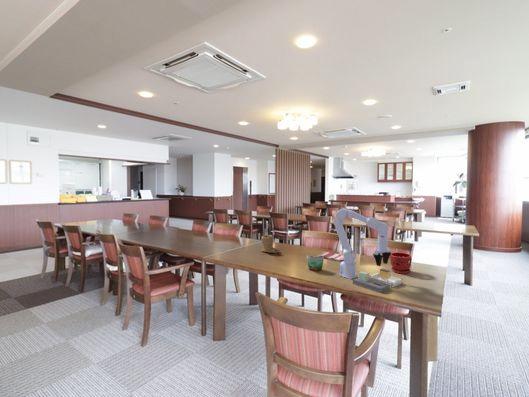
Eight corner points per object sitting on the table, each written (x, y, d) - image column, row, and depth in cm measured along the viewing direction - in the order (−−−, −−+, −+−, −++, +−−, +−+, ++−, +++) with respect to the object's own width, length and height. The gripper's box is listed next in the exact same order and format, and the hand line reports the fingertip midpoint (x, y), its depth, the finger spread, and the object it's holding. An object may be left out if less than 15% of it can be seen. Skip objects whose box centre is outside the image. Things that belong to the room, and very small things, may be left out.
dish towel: (344, 263, 214) (344, 259, 214) (317, 257, 229) (317, 254, 229) (353, 258, 227) (353, 255, 227) (327, 253, 242) (327, 250, 242)
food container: (306, 271, 192) (306, 257, 192) (306, 268, 198) (306, 254, 198) (324, 272, 191) (324, 257, 190) (324, 269, 197) (324, 255, 196)
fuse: (358, 283, 169) (358, 272, 169) (361, 282, 171) (361, 271, 171) (366, 285, 165) (366, 274, 165) (368, 284, 167) (369, 273, 167)
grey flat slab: (352, 283, 169) (352, 279, 169) (361, 280, 175) (361, 276, 174) (380, 293, 155) (380, 288, 155) (389, 289, 160) (389, 284, 160)
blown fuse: (379, 280, 174) (379, 269, 173) (382, 279, 175) (382, 268, 175) (387, 282, 170) (387, 271, 169) (390, 281, 171) (390, 270, 171)
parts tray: (367, 280, 175) (368, 276, 175) (378, 276, 182) (378, 272, 182) (392, 287, 163) (392, 283, 163) (402, 283, 170) (402, 279, 170)
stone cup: (258, 252, 245) (258, 235, 244) (266, 249, 254) (266, 233, 254) (272, 255, 236) (272, 237, 235) (280, 252, 246) (280, 235, 245)
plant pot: (392, 267, 201) (393, 251, 201) (413, 271, 193) (413, 254, 192) (387, 272, 191) (387, 254, 191) (408, 276, 183) (409, 258, 182)
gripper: (382, 245, 165) (381, 268, 166) (395, 242, 174) (394, 264, 174) (371, 243, 170) (370, 265, 171) (384, 240, 179) (383, 261, 180)
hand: (381, 264), depth 173 cm, fingers open, 7 cm apart
